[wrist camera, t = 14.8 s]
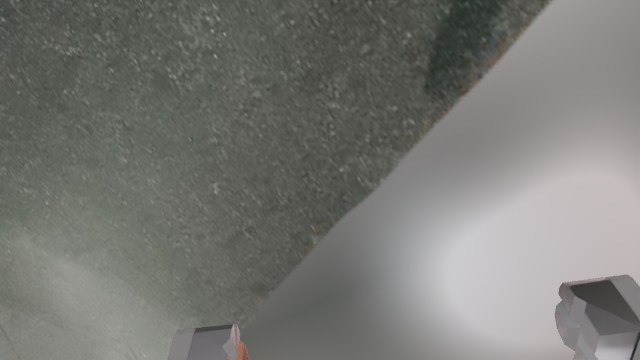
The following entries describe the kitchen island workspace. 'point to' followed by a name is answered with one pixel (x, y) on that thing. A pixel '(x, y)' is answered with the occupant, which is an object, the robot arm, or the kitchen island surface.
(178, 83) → the kitchen island surface
